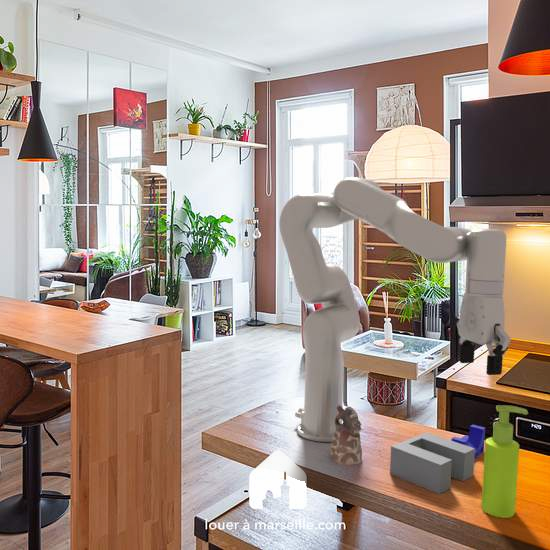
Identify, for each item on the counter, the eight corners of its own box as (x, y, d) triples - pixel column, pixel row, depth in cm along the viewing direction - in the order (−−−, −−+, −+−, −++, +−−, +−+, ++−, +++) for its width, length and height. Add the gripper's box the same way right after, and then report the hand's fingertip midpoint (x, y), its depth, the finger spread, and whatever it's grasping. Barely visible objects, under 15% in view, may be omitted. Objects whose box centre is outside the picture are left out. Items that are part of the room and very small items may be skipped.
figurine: (352, 468, 126) (354, 414, 125) (324, 459, 131) (325, 407, 129) (367, 457, 132) (369, 406, 131) (340, 449, 136) (342, 399, 135)
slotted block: (389, 473, 124) (391, 446, 124) (424, 457, 133) (426, 432, 132) (439, 494, 115) (440, 465, 115) (473, 475, 124) (474, 448, 123)
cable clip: (465, 447, 140) (466, 422, 139) (483, 452, 137) (485, 427, 136) (443, 462, 131) (445, 436, 130) (462, 468, 128) (464, 442, 127)
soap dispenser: (522, 521, 106) (530, 414, 104) (482, 515, 108) (489, 409, 105) (518, 505, 111) (525, 404, 109) (480, 500, 113) (486, 400, 111)
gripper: (446, 283, 129) (442, 359, 131) (494, 294, 112) (489, 380, 114) (475, 283, 131) (471, 357, 133) (527, 293, 114) (522, 378, 116)
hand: (479, 368), depth 123 cm, fingers open, 9 cm apart
